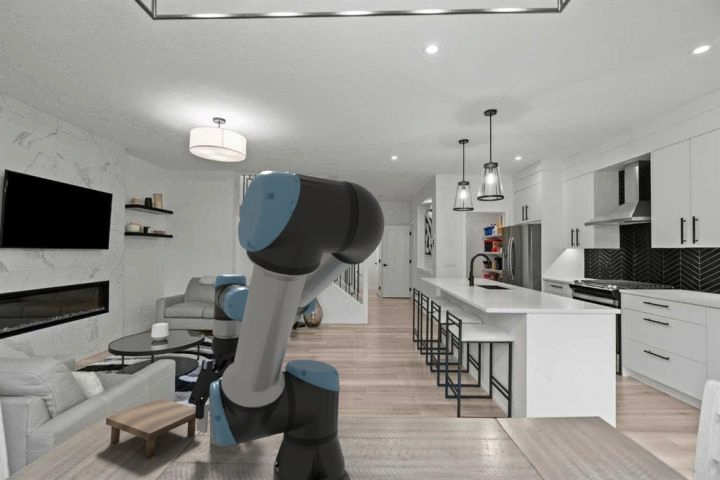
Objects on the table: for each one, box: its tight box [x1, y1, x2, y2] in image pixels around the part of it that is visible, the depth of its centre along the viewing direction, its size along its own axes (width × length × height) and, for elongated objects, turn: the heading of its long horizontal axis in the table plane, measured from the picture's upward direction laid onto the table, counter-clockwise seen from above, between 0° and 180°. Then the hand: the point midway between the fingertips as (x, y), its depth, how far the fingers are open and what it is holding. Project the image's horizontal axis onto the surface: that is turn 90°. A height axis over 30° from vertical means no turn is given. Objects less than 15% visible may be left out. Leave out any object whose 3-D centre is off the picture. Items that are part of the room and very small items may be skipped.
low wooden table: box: [105, 397, 197, 459], centre depth 89 cm, size 16×14×6 cm
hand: (223, 419), depth 90 cm, fingers open, 13 cm apart
